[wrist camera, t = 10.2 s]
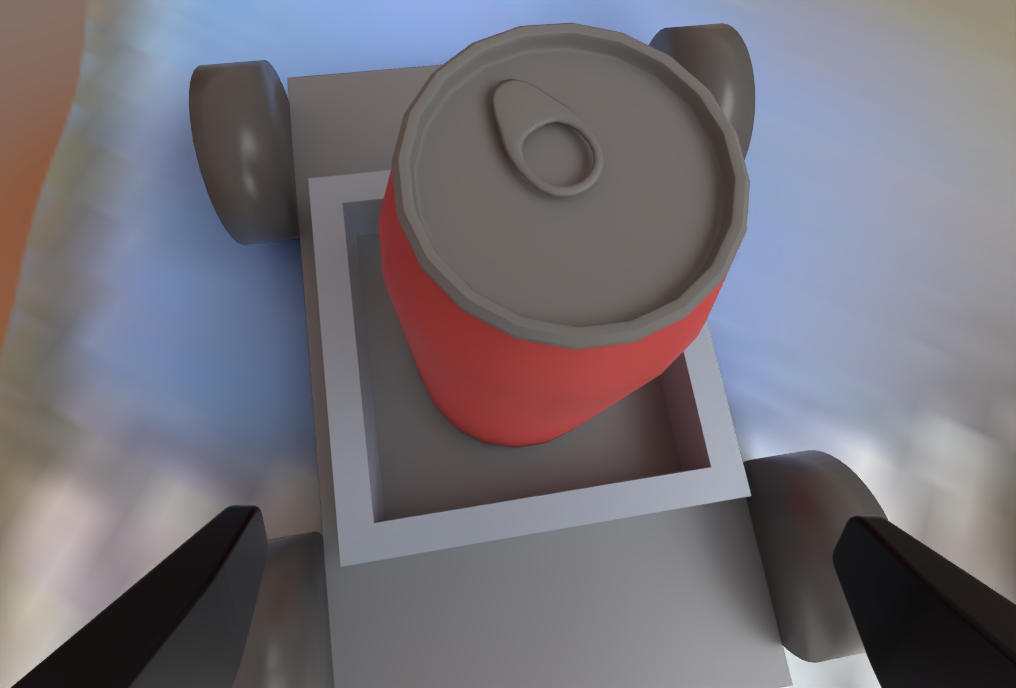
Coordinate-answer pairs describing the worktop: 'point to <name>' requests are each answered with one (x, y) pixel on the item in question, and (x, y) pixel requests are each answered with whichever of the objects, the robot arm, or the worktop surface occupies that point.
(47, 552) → the worktop surface
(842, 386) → the worktop surface
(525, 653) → the chassis
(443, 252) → the beer can
